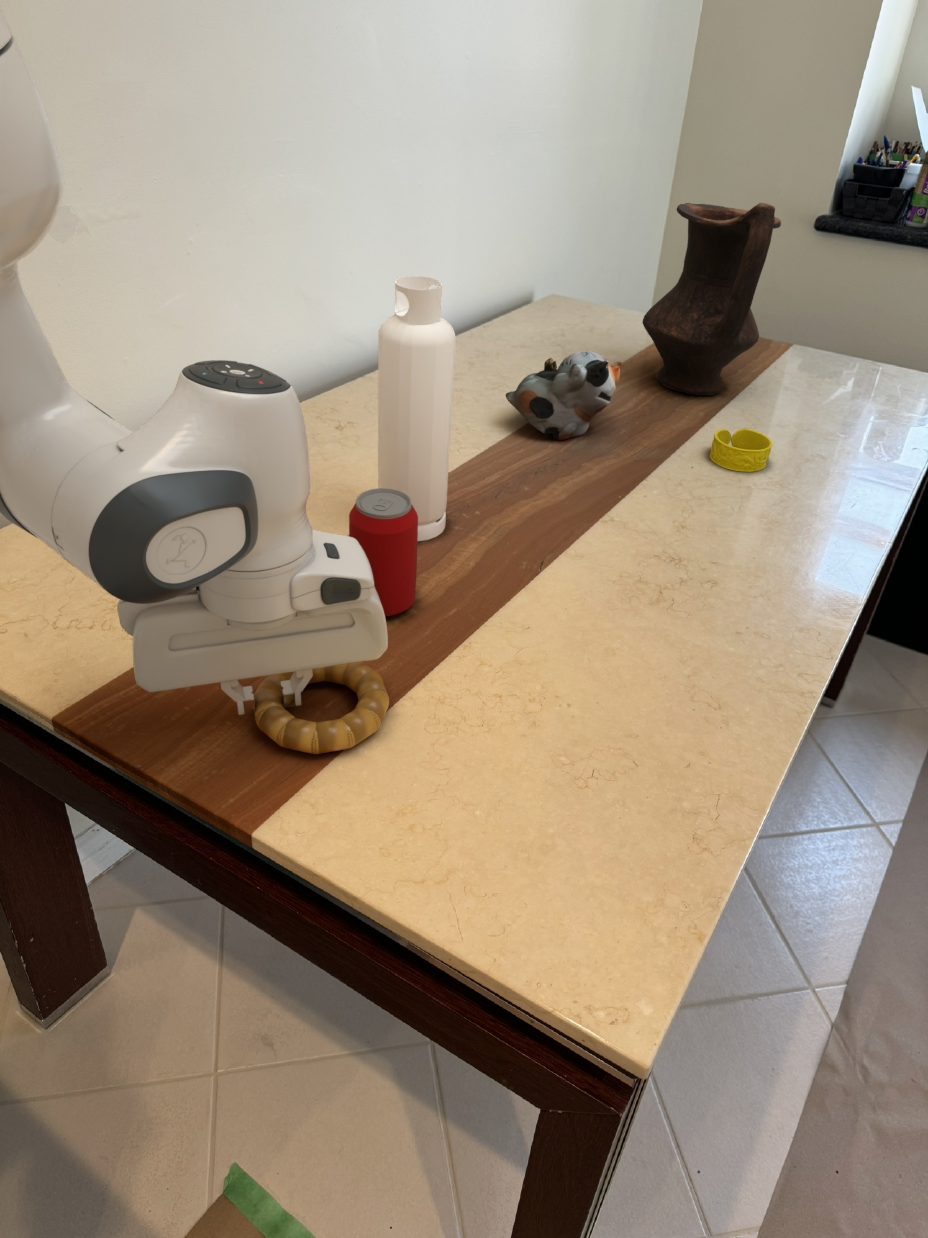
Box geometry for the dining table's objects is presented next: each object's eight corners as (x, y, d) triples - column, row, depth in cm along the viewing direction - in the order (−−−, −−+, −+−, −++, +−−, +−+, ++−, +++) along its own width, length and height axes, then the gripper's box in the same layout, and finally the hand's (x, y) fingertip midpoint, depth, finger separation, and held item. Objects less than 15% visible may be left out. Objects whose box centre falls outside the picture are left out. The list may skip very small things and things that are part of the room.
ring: (263, 770, 71) (261, 747, 70) (247, 679, 80) (245, 658, 79) (401, 745, 75) (401, 723, 73) (371, 661, 83) (371, 640, 82)
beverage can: (424, 593, 93) (429, 493, 86) (400, 628, 88) (402, 525, 81) (366, 578, 95) (366, 479, 87) (339, 612, 89) (336, 509, 82)
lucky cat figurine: (539, 397, 138) (594, 323, 130) (590, 448, 135) (649, 376, 127) (489, 396, 126) (546, 315, 118) (544, 453, 123) (606, 373, 115)
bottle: (457, 532, 103) (473, 290, 87) (397, 547, 100) (401, 298, 83) (424, 501, 109) (433, 268, 92) (366, 515, 105) (364, 275, 89)
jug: (615, 365, 152) (648, 174, 134) (711, 362, 156) (755, 177, 138) (666, 415, 135) (710, 206, 118) (772, 410, 140) (830, 207, 122)
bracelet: (776, 470, 122) (782, 449, 120) (724, 473, 120) (730, 452, 118) (750, 447, 128) (756, 426, 126) (701, 450, 126) (706, 428, 124)
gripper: (112, 613, 62) (143, 752, 70) (394, 578, 67) (392, 711, 75) (112, 565, 66) (141, 700, 75) (376, 536, 72) (375, 665, 80)
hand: (269, 705), depth 75 cm, fingers closed on ring, 2 cm apart
